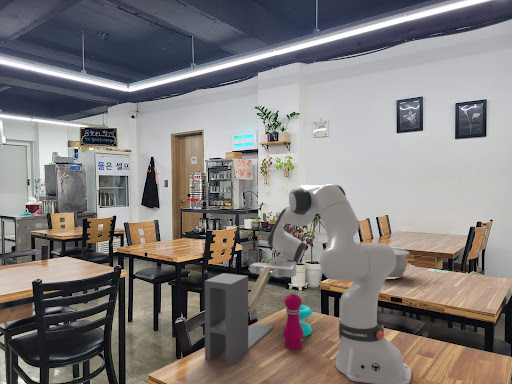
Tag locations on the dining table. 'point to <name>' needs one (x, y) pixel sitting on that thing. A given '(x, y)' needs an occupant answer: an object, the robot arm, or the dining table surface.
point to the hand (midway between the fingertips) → (265, 273)
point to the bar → (258, 288)
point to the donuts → (304, 314)
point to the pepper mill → (293, 322)
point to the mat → (257, 333)
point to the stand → (226, 316)
